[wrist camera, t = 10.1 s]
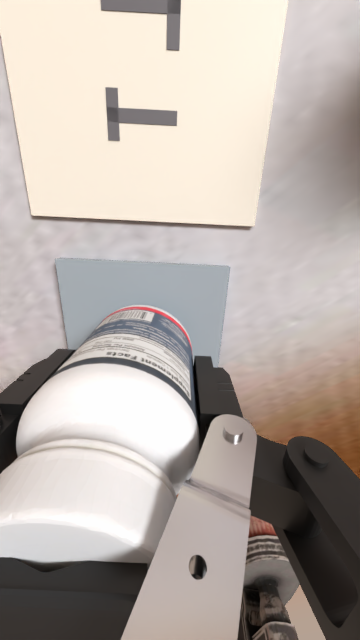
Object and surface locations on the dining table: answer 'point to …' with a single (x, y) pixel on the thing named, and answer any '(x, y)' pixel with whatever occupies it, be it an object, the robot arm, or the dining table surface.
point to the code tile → (143, 105)
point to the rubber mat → (144, 297)
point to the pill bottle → (104, 447)
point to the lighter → (266, 586)
